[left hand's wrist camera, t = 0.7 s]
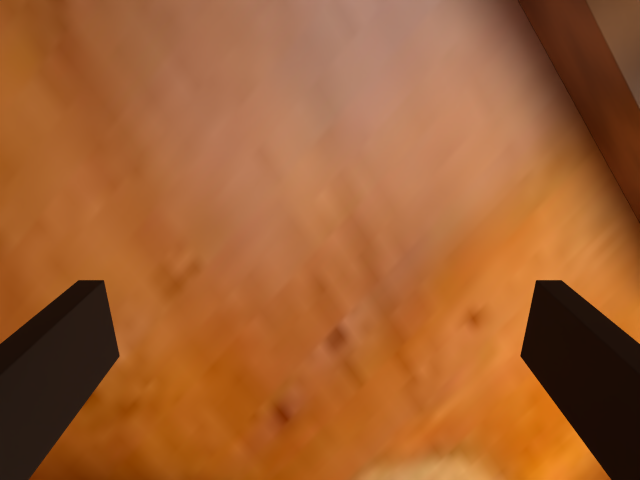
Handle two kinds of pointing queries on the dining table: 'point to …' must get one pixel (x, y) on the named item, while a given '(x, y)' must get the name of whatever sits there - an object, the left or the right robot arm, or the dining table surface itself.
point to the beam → (599, 74)
